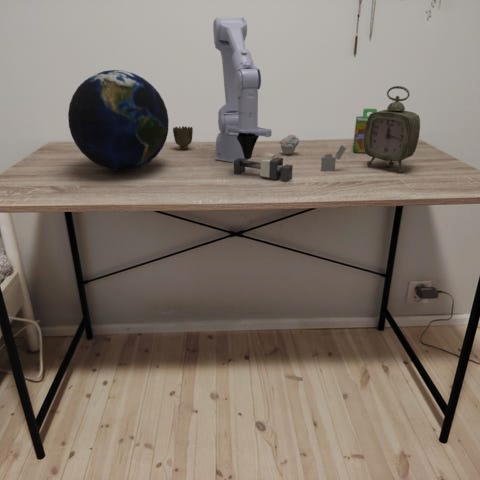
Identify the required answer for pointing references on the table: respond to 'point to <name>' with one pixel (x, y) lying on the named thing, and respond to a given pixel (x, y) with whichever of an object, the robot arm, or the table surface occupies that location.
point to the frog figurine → (289, 144)
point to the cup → (183, 136)
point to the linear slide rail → (242, 163)
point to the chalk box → (361, 131)
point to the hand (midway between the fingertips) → (247, 158)
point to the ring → (275, 168)
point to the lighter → (331, 160)
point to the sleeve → (266, 164)
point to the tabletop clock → (392, 132)
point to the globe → (118, 120)
